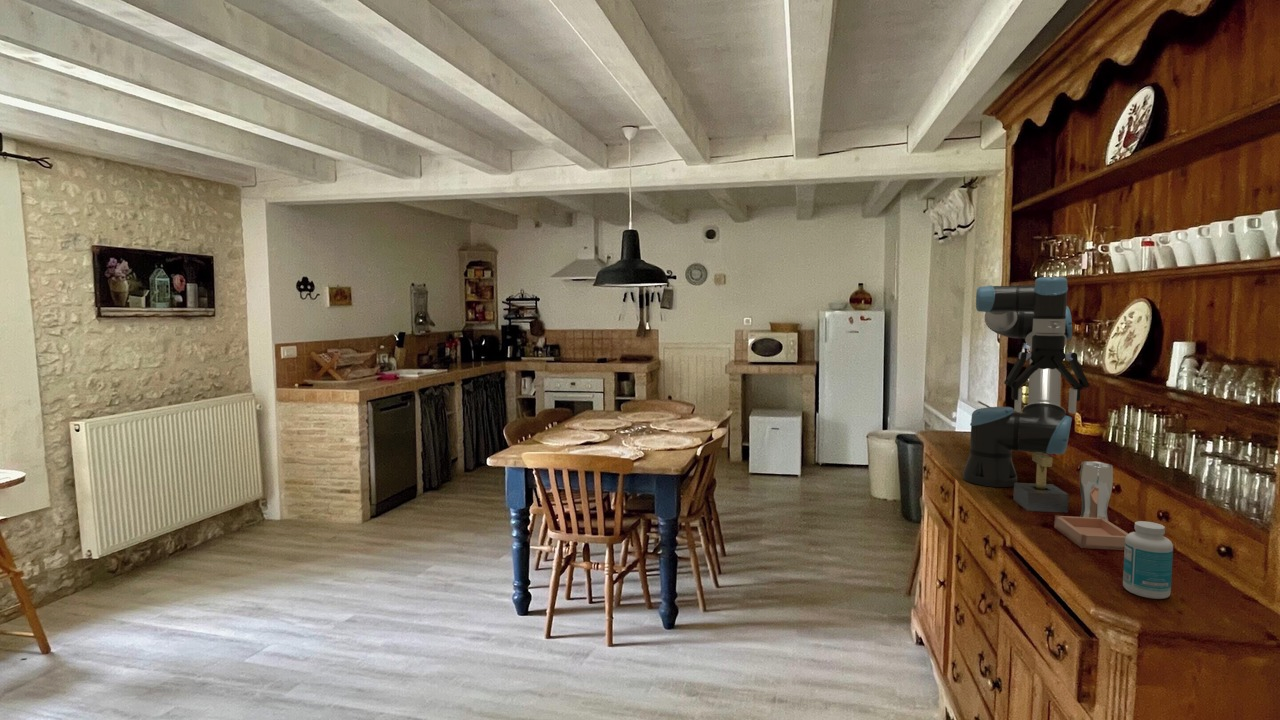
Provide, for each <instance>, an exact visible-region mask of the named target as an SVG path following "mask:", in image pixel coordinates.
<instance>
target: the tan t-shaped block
mask: <svg viewBox="0 0 1280 720" xmlns="http://www.w3.org/2000/svg"><path fill="white" fill-rule="evenodd" d="M1053 459H1054V458H1053V457H1051V456H1050V455H1049V454H1045V453H1042V452H1031V461H1033V462H1035V464H1036V471H1035V472H1036V473H1035V483H1036V490H1046V484H1047V474H1048V473H1047V471H1048V470H1047V468H1048V467H1049V468H1051V467H1053Z"/></svg>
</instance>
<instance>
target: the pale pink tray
mask: <svg viewBox="0 0 1280 720" xmlns="http://www.w3.org/2000/svg"><path fill="white" fill-rule="evenodd" d="M1054 529H1056V530H1057V531H1058V532H1060V533H1061V534H1063V536H1065V537H1066V538H1068V539H1069V540H1070V541H1071V542H1073V543H1074V544H1075V545H1076V546H1078V547H1079V548H1081V549H1093V550H1095V549H1096V550H1110V551H1125V538H1126V536H1127V535H1128V534H1129V533H1128V532H1127V531H1125V530H1123V529H1122V528H1120V527H1119V526H1117V525H1115V524H1114V523H1112V522H1110V521H1109V519H1108V520H1106V519H1104V518H1093V517H1080V516H1071V515H1070V516H1068V515H1067V516H1065V515H1055V516H1054Z"/></svg>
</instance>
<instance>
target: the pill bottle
mask: <svg viewBox="0 0 1280 720" xmlns="http://www.w3.org/2000/svg"><path fill="white" fill-rule="evenodd" d="M1134 530H1135V531H1131V532H1129V533H1128V535H1127V536H1126V538H1125V550H1123V551H1124V552H1123V553H1124V554H1123V555H1124V556H1123V557H1124V558H1123V572H1122V573H1123V574H1122V587H1123V588H1124V589H1125V590H1126V591H1128V592H1129V593H1131V594H1133V595H1136V596H1139V597H1143V598H1146V599H1152V600H1153V599H1155V600H1162V599H1168V598H1169V597H1170V595H1171V592H1172V591H1171V590H1172V575H1173V560H1174V559H1173V557H1174V556H1173V555H1174V545H1173V542H1172V541H1171V540H1170V539H1169V538H1168V537H1165V536H1164V535H1165V533H1166V526H1164V525H1163V524H1160V523H1156V522H1152V521H1144V520H1138V521H1135V522H1134Z"/></svg>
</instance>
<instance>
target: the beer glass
mask: <svg viewBox="0 0 1280 720" xmlns="http://www.w3.org/2000/svg"><path fill="white" fill-rule="evenodd" d="M1113 468H1114V467H1113V465H1112V464H1109V463H1106V462H1102V461H1094V460H1092V461H1091V460H1087V461H1086V460H1085V461H1082V462H1081V464H1080V473H1079V489H1080V497H1081V512H1080V515H1079V517H1093V518H1104V519H1106V520H1108V521H1109V518H1108V505H1109V501H1110V498H1111V494H1112V491H1113V484H1114V473H1113V472H1114V471H1113Z"/></svg>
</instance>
